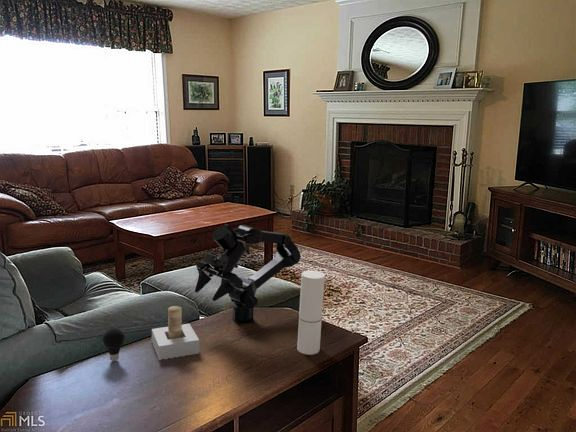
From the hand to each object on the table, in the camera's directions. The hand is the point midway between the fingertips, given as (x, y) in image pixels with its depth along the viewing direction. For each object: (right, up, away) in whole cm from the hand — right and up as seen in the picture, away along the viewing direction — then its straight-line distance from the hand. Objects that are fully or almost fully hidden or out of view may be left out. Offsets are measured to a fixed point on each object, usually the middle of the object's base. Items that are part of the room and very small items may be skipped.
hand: (204, 296), depth 154 cm
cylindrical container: (+34, -17, -3) cm, 38 cm away
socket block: (-8, -15, -6) cm, 18 cm away
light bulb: (-23, -16, -16) cm, 33 cm away
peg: (-8, -15, -6) cm, 18 cm away
